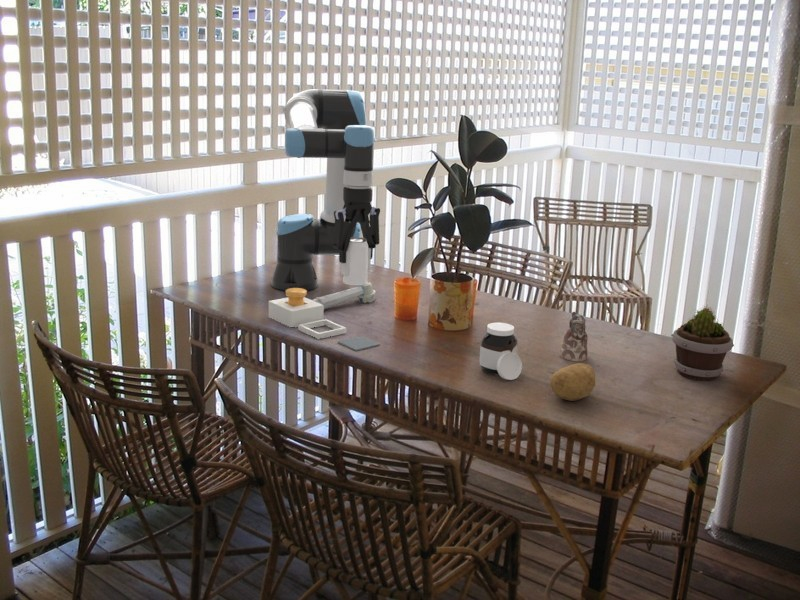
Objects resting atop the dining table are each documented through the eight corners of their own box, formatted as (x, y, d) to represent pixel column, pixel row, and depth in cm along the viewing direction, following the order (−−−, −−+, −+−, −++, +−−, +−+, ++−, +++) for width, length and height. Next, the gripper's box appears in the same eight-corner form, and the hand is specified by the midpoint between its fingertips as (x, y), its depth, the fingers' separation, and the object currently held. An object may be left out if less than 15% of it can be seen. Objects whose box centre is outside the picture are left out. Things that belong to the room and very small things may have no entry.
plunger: (298, 311, 260) (298, 286, 258) (310, 317, 256) (310, 291, 254) (281, 315, 257) (281, 289, 254) (293, 320, 252) (293, 294, 250)
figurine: (564, 361, 233) (569, 318, 229) (556, 352, 239) (560, 310, 236) (590, 361, 234) (595, 318, 230) (581, 351, 241) (585, 309, 237)
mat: (361, 337, 244) (361, 335, 244) (379, 345, 238) (379, 344, 238) (337, 342, 239) (337, 341, 239) (356, 351, 233) (356, 349, 233)
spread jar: (493, 361, 231) (497, 318, 227) (532, 371, 225) (536, 328, 221) (470, 373, 221) (473, 329, 218) (510, 385, 215) (513, 340, 212)
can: (339, 285, 232) (340, 240, 229) (347, 279, 238) (348, 235, 235) (362, 287, 230) (364, 243, 227) (370, 282, 236) (371, 238, 233)
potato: (603, 394, 212) (607, 363, 210) (578, 412, 201) (581, 379, 199) (566, 384, 217) (570, 353, 215) (540, 400, 206) (543, 369, 204)
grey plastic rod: (303, 299, 264) (367, 276, 279) (306, 319, 267) (369, 295, 282) (314, 303, 260) (378, 279, 275) (316, 323, 263) (379, 299, 278)
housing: (299, 311, 264) (299, 295, 263) (348, 332, 247) (348, 315, 246) (268, 317, 257) (268, 300, 256) (316, 339, 240) (316, 322, 239)
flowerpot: (674, 359, 238) (684, 288, 232) (733, 372, 230) (745, 299, 225) (660, 375, 226) (670, 301, 220) (721, 389, 218) (734, 312, 213)
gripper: (336, 191, 218) (334, 280, 225) (395, 186, 230) (392, 271, 237) (319, 186, 224) (317, 274, 230) (378, 182, 236) (375, 265, 242)
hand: (355, 272), depth 234 cm, fingers closed on can, 6 cm apart
